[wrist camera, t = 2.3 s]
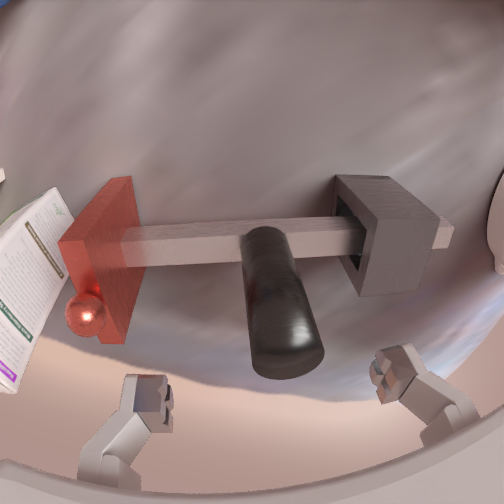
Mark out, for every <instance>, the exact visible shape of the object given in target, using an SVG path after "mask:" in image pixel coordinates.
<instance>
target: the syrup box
mask: <svg viewBox="0 0 504 504" xmlns="http://www.w3.org/2000/svg"><path fill="white" fill-rule="evenodd" d="M73 222H74V219H73V217H72V215H71V214H70V212H69V210H68V208H67V206H66V205H65V203H64V201H63V199H62V197H61V195H60V194H59V192H58V190H57V188H56V187H54V188H52V189H49V190H47V191H46V192H44V193H42V194H40V195H38V196H37V197H35V198H33V199H32V200H30V201H29V202H27V203H25V204H24V205H22V206H21V207H19V208H18V209H17V210H15V211H14V212H13V213H12V214H11V215H10V216H9V217H8V218H7V219H6V220H5V221H4V222H3V223H2V224H1V225H0V393H7V394H16V393H17V391H18V389H19V386H20V382H21V380H22V377H23V375H24V372H25V369H26V367H27V364H28V362H29V359H30V357H31V354H32V352H33V350H34V347H35V345H36V342H37V340H38V338H39V336H40V333H41V331H42V329H43V327H44V325H45V323H46V321H47V318H48V316H49V314H50V312H51V310H52V308H53V306H54V304H55V302H56V300H57V298H58V296H59V294H60V292H61V290H62V288H63V286H64V284H65V283H66V281H67V279H68V277H69V273H68V270H67V268H66V265H65V263H64V260H63V257H62V255H61V252H60V249H59V246H58V244H57V242H58V241H59V239H60V238H61V237H62V236H63V234H64V233H65V232H66V230H67V229H68V228H69V227H70V225H71V224H72V223H73Z"/></svg>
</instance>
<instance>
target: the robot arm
mask: <svg viewBox="0 0 504 504" xmlns="http://www.w3.org/2000/svg"><path fill="white" fill-rule="evenodd" d="M487 240H488V245H489V248H490V250H491V251H492V253H493V255H494V257H495V270H496V271H497V272H498V273H499V274H500V275H503V274H504V174H503V176H502V178H501V180H500V182H499V184H498V186H497V189H496V192H495V194H494V197H493V200H492V204H491V207H490V212H489V217H488V224H487ZM375 357H376V359H375V360H374V361H373V362H372V363H371V366H370V378H371V380H372V383H373V384H374V385H376V386H377V387H378V388H377V391H376V392H377V395H378V397H379V400H380V402H381V404H385V403H389V402H393V401H397V400H399V402H400V403H402V404H403V405H404V406H405V407H406V408H408V409H409V410H410V411H411V412H412V413H413V414H415V415H416V416H417V417H418V418H419V419H421V420H422V421H423V422H424V423H425V424H426V425H428V426H427V427H426V428H425V429H424V430H423V431H421V433H420V438H421V440H422V442H423V445H424V447H423V448H421V449H418V450H416V451H413V452H411V453H408V454H406V455H403V456H401V457H398V458H395V459H393V460H390V461H387V462H384V463H382V464H378V465H376V466H373V467H369V468H366V469H363V470H359V471H356V472H352V473H349V474H345V475H341V476H337V477H333V478H329V479H325V480H320V481H315V482H311V483H305V484H300V485H294V486H289V487H283V488H275V489H267V490H258V491H248V492H235V493H213V494H183V493H163V492H149V491H141V476H140V475H139V474H138V473H137V472H136V471H134V470H133V469H132V468H131V467H129V466H130V465H131V463H132V462H133V460H134V459H135V457H136V456H137V454H138V453H139V452H140V450H141V449H142V447H143V446H144V444H145V443H146V441H147V440H148V438H149V437H150V435H151V433H153V432H154V433H172V429H173V428H172V427H173V417H172V415H171V413H170V411H171V410H172V409H173V393H172V389H171V386H170V385H168V384H167V383H168V379H167V377H166V375H140V374H127V375H126V376H125V378H124V384H123V389H122V395H121V401H120V408H119V411H115V412H114V413H113V414H112V416H111V417H110V418H109V419H108V420H107V421H106V422H105V423H104V424H103V425H102V427H101V428H100V429H99V430H98V431H97V432H96V433H95V434H94V436H93V437H92V438H91V439H90V440H89V441H88V442H87V443H86V444H85V446H84V447H83V448H82V449H81V453H80V459H79V466H78V473H77V480H75V479H71V478H67V477H63V476H60V475H56V474H52V473H49V472H45V471H42V470H39V469H36V468H33V467H30V466H27V465H24V464H21V463H19V462H16V461H14V460H11V459H3V460H1V461H0V504H504V404H503V405H501V406H500V407H498V408H497V409H495V410H493V411H492V412H490V413H489V414H487V415H485V416H484V417H482V418H480V416H479V414H478V412H477V410H476V408H475V406H474V404H473V402H472V400H471V398H470V396H469V395H468V394H466V393H464V392H463V391H461V390H460V389H458V388H456V387H455V386H453V385H452V384H450V383H448V382H447V381H445V380H444V379H442V378H441V377H439V376H437V375H436V374H434V373H433V372H431V371H430V372H428V371H427V369H426V367H425V366H424V364H423V362H422V360H421V358H420V357H419V355H418V353H417V351H416V350H415V348H414V346H413V345H412V344H411V343H406V344H403V345H398V346H394V347H390V348H386V349H382V350H379V351H377V352H376V355H375Z"/></svg>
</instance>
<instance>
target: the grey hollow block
mask: <svg viewBox="0 0 504 504" xmlns="http://www.w3.org/2000/svg"><path fill="white" fill-rule="evenodd" d="M338 216H356V217H357V218H358V219H359V220H360V222H361V223H362V224H363V225H364V227H365V228H366V229H367V234H366V238H365V243H364V248H363V252H362V254H353V255H337V256H338V258H339V259H340V261H341V263H342V265H343V267H344V269H345V271H346V272H347V274H348V276H349V278H350V280H351V282H352V284H353V286H354V288H355V290H356V291H357V293H358V295H359V297H367V296H376V295H383V294H391V293H399V292H406V291H413V290H417V288H418V286H419V283H420V281H421V278H422V275H423V273H424V270H425V267H426V264H427V261H428V258H429V256H430V253H431V250H432V246H433V243H434V240H435V237H436V234H437V230H438V227H439V224H440V220H441V219H440V218H439V217H438V216H437V215H436V214H435V213H433V212H432V211H431V210H430V209H429V208H428V207H426V206H425V205H424V204H423V203H422V202H421V201H419V200H418V199H417V198H416V197H414V196H413V195H412V194H411V193H410V192H408V191H407V190H406V189H405V188H403V187H402V186H401V185H399V184H398V183H397V182H396V181H394V180H393V179H392V178H390V177H389V176H369V175H336V178H335V187H334V197H333V205H332V213H331V217H338Z"/></svg>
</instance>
